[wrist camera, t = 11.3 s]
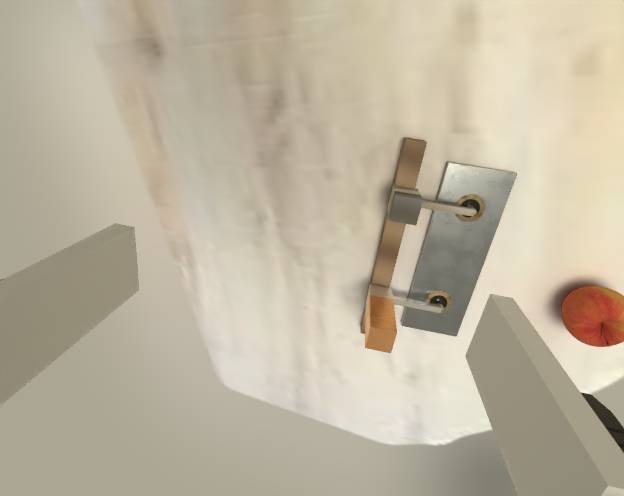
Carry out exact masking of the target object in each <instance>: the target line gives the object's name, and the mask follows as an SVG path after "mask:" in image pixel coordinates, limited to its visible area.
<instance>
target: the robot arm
mask: <svg viewBox="0 0 624 496" xmlns="http://www.w3.org/2000/svg"><path fill="white" fill-rule="evenodd" d="M138 290H139V282H138V268H137V256H136V243H135V230H134V227H131V226H125V225H120V224H113V225H111V226H110V227H107V228H106V229H103V230H101V231H99V232H97V233H96V234H94V235H91V236H90V237H87V238H85V239H83V240H81V241H79V242H77V243H75V244H73V245H72V246H69V247H67V248H65V249H63V250H61V251H59V252H57V253H55V254H53V255H51V256H49V257H47V258H45V259H43V260H41V261H39V262H37V263H35V264H33V265H31V266H29V267H27V268H25V269H23V270H21V271H19V272H17V273H15V274H13V275H11V276H9V277H7V278H5V279H2V280H0V406H1V405H2V404H3V403H4V402H6V401H7V400H8V399H9V398H10V397H12V396H13V395H14V394H15V393H16V392H18V391H19V390H20V389H21V388H22V387H23V386H25V385H26V384H27V383H28V382H30V381H31V380H32V379H33V378H34V377H35V376H37V375H38V374H39V373H40V372H42V371H43V370H44V369H45V368H46V367H47V366H49V365H50V364H51V363H52V362H53V361H55V360H56V359H57V358H58V357H59V356H61V355H62V354H63V353H64V352H65V351H67V350H68V349H69V348H70V347H71V346H73V345H74V344H75V343H76V342H77V341H79V340H80V339H81V338H82V337H83V336H85V335H86V334H87V333H88V332H89V331H90V330H92V329H93V328H94V327H95V326H96V325H98V324H99V323H100V322H101V321H102V320H104V319H105V318H106V317H107V316H108V315H109V314H111V313H112V312H113V311H114V310H115V309H117V308H118V307H119V306H120V305H122V304H123V303H124V302H125V301H126V300H128V299H129V298H130V297H131V296H132V295H133V294H135V293H136V292H137V291H138ZM466 359H467V361H468V364H469V367H470V370H471V372H472V375H473V378H474V380H475V383H476V386H477V388H478V391H479V394H480V396H481V399H482V402H483V404H484V407H485V410H486V412H487V415H488V418H489V420H490V423H491V426H492V429H493V431H494V434H495V436H496V439H497V442H498V445H499V447H500V450H501V453H502V455H503V458H504V461H505V463H506V466H507V469H508V471H509V474H510V477H511V479H512V482H513V485H514V488H515V490H516V493H517V496H624V428H623V426H622V425H621V424H620V422H619V421H618V420H617V419H616V417H615V416H614V415H613V414H612V412H611V411H610V410H608V409H607V408H606V407H605V406H604V405H603V404H601V403H600V402H599V401H598V400H597V399H596V398H594V397H593V396H592V395H590V394H585V393H581V392H580V391H579V390H578V389H577V387H576V386H575V384H574V383H573V382H572V380H571V379H570V377H569V376H568V375H567V373H566V372H565V370H564V369H563V368H562V366H561V365H560V363H559V362H558V361H557V359H556V358H555V356H554V355H553V354H552V352H551V351H550V349H549V348H548V347H547V345H546V344H545V342H544V341H543V340H542V338H541V337H540V335H539V334H538V333H537V331H536V330H535V329H534V327H533V326H532V324H531V323H530V322H529V320H528V319H527V317H526V316H525V315H524V313H523V312H522V310H521V309H520V308H519V306H518V305H517V303H516V302H515V301H514V299H513V298H509V297H503V296H498V295H493V294H490V296H489V298H488V301H487V303H486V306H485V308H484V311H483V313H482V316H481V318H480V321H479V323H478V326H477V328H476V331H475V333H474V336H473V338H472V341H471V343H470V346H469V348H468V351H467V353H466Z"/></svg>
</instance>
